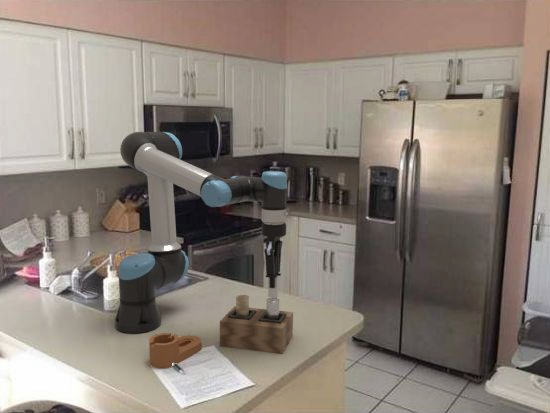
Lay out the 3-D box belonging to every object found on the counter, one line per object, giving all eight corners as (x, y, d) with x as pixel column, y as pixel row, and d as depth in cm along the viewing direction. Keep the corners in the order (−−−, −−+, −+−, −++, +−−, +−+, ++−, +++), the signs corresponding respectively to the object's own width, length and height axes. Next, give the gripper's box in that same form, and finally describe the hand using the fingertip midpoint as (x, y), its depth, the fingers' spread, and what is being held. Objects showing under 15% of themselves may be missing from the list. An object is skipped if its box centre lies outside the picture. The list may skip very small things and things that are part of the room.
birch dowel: (234, 322, 158) (234, 298, 157) (238, 318, 162) (238, 294, 160) (246, 323, 157) (246, 299, 156) (250, 319, 161) (250, 295, 159)
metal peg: (264, 326, 155) (265, 301, 154) (268, 321, 159) (268, 297, 158) (277, 327, 154) (277, 302, 153) (280, 322, 158) (280, 298, 157)
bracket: (164, 371, 139) (164, 347, 137) (143, 363, 143) (143, 340, 142) (207, 348, 153) (207, 326, 152) (187, 341, 158) (186, 320, 157)
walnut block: (219, 345, 155) (219, 319, 153) (234, 328, 168) (234, 304, 167) (282, 353, 150) (282, 326, 148) (292, 335, 163) (293, 310, 162)
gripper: (280, 227, 145) (279, 305, 148) (290, 219, 157) (289, 291, 161) (256, 225, 146) (255, 302, 150) (267, 218, 159) (267, 289, 163)
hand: (273, 296), depth 155 cm, fingers closed
